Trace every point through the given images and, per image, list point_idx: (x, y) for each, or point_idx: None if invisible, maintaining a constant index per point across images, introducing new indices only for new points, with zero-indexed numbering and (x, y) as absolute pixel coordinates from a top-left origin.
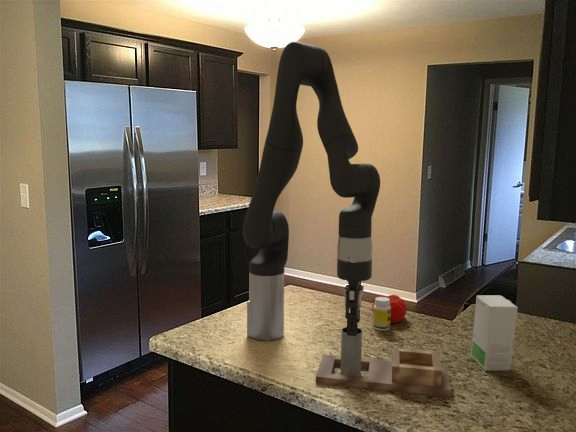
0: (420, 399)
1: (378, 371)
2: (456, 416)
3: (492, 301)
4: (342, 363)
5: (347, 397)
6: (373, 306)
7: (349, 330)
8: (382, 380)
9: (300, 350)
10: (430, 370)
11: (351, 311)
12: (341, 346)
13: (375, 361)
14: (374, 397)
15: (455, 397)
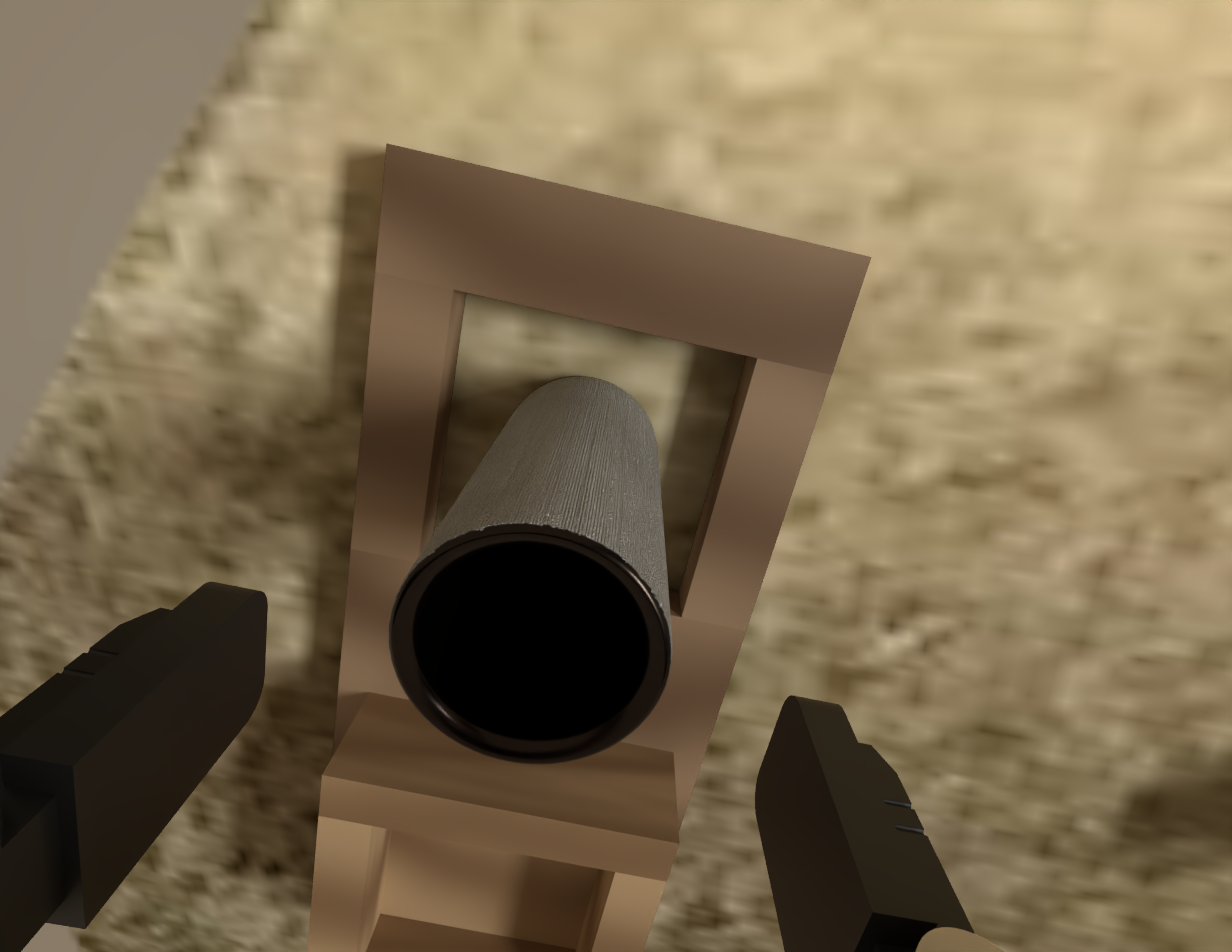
0: (281, 773)
1: None
2: (141, 871)
3: None
4: (529, 410)
5: (219, 379)
6: None
7: (103, 652)
8: (384, 644)
9: (1128, 27)
10: None
11: (833, 838)
12: (534, 447)
13: (691, 656)
14: (255, 549)
15: None
